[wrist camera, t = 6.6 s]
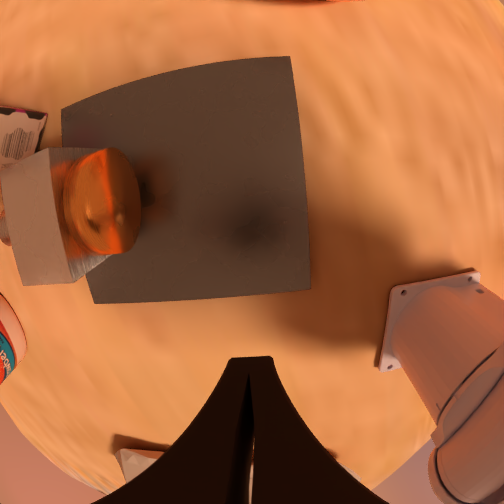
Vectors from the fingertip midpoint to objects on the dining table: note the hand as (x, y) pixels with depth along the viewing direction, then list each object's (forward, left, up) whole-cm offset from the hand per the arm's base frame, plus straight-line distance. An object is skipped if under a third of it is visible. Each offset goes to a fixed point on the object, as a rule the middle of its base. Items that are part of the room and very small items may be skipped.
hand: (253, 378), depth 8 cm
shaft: (+10, -6, -7) cm, 14 cm away
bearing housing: (+4, -6, -9) cm, 12 cm away
